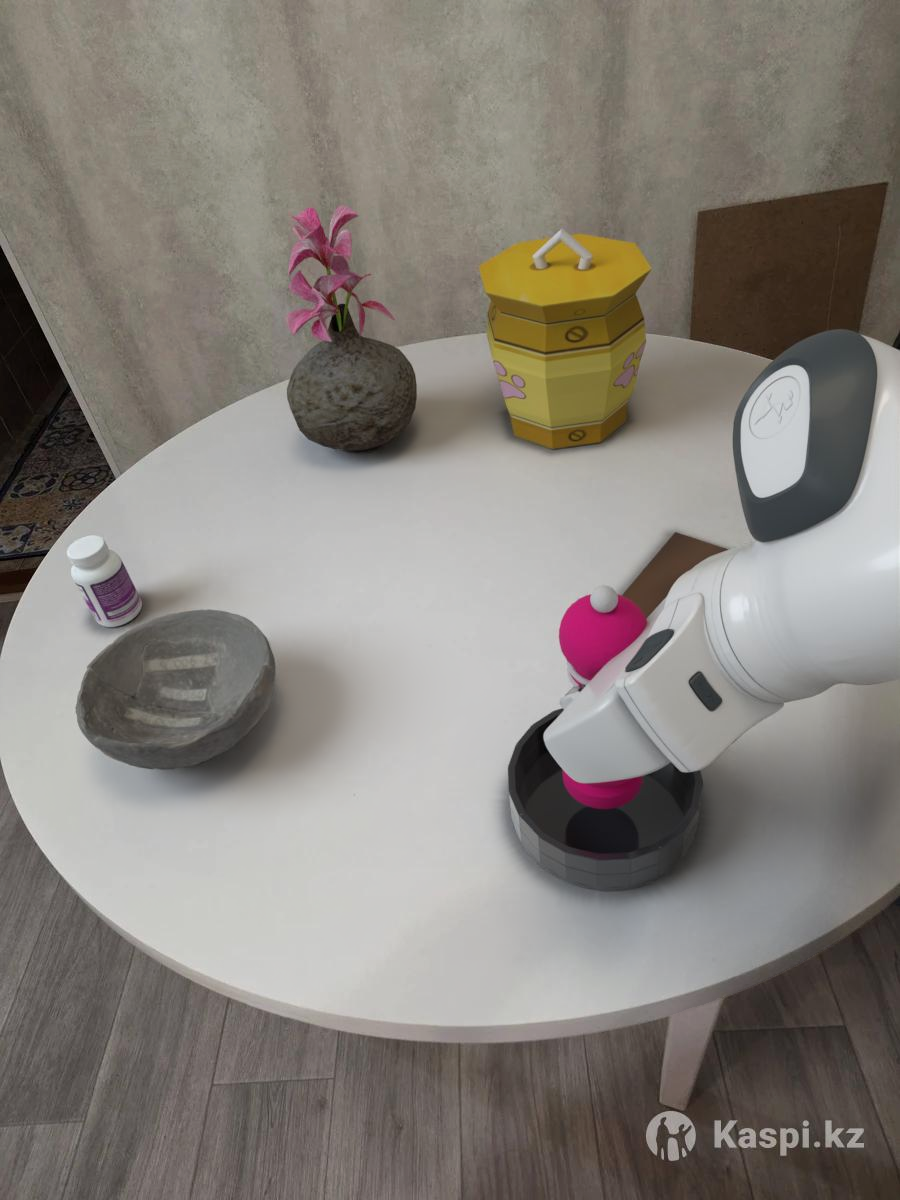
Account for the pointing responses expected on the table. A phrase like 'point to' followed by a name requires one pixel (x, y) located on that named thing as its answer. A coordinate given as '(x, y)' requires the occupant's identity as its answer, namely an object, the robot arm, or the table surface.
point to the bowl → (177, 689)
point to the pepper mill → (589, 644)
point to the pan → (600, 820)
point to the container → (566, 335)
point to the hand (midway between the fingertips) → (595, 676)
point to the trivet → (668, 570)
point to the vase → (343, 352)
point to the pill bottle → (103, 581)
